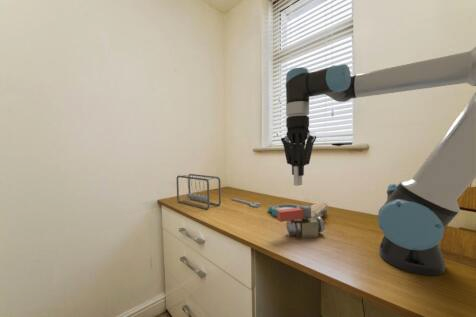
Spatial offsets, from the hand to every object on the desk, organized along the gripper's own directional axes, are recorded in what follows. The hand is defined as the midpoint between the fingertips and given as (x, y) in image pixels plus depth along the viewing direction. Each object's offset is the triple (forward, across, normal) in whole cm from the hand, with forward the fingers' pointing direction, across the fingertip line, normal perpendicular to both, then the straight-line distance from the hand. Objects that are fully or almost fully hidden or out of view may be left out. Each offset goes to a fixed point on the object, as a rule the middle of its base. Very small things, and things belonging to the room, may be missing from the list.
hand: (297, 184), depth 71 cm
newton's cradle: (+22, +73, +2) cm, 76 cm away
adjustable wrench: (+22, +55, -23) cm, 64 cm away
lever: (+15, +6, -6) cm, 17 cm away
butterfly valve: (+22, +20, -26) cm, 39 cm away
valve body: (+22, +4, -11) cm, 25 cm away
